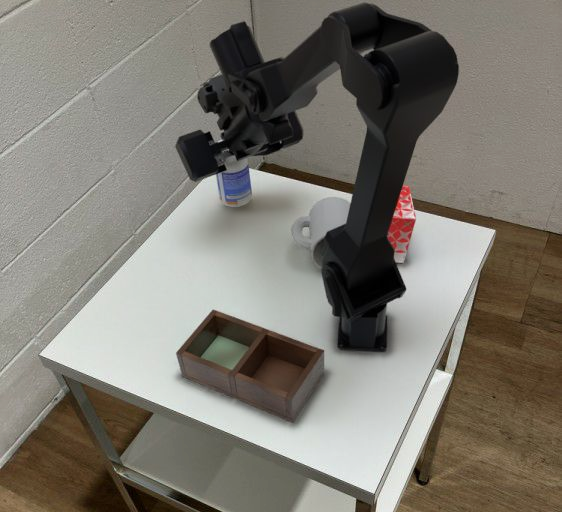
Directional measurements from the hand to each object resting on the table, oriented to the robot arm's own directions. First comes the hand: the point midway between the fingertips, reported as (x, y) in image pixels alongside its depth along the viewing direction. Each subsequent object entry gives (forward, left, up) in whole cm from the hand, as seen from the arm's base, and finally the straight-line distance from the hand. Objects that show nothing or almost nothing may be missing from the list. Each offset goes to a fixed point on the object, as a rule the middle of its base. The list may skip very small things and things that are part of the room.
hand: (227, 158), depth 101 cm
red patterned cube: (-7, -24, -3) cm, 25 cm away
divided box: (-37, -9, -8) cm, 39 cm away
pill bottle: (-1, -1, -7) cm, 7 cm away
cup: (-8, -16, -4) cm, 18 cm away
